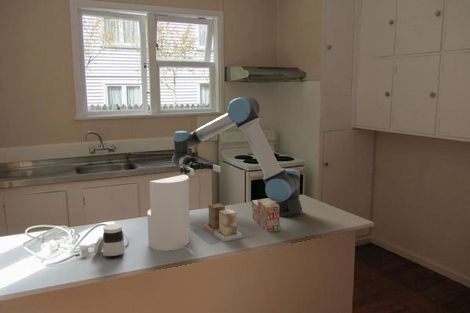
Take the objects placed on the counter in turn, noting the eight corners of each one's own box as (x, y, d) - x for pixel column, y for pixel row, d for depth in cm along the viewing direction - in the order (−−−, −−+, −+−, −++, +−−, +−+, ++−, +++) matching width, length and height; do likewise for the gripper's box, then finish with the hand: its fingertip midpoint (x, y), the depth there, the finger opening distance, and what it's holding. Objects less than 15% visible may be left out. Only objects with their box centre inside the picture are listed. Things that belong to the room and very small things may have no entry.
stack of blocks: (252, 218, 200) (251, 194, 197) (264, 216, 201) (263, 192, 199) (267, 233, 179) (266, 206, 177) (280, 230, 181) (279, 204, 179)
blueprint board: (232, 223, 192) (232, 218, 192) (255, 236, 175) (255, 231, 175) (190, 231, 182) (190, 226, 181) (210, 246, 164) (210, 241, 164)
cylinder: (198, 242, 169) (197, 177, 164) (164, 254, 157) (162, 185, 152) (173, 232, 181) (172, 171, 176) (140, 242, 169) (137, 177, 164)
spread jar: (124, 259, 152) (123, 230, 150) (93, 262, 149) (91, 233, 147) (124, 247, 164) (122, 220, 162) (94, 250, 161) (93, 222, 159)
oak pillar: (230, 232, 177) (230, 209, 176) (236, 236, 173) (236, 212, 171) (219, 235, 175) (219, 210, 173) (225, 239, 170) (225, 214, 168)
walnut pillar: (219, 225, 186) (219, 203, 185) (225, 229, 182) (224, 206, 180) (208, 227, 184) (208, 204, 182) (214, 231, 179) (213, 207, 177)
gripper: (210, 168, 212) (230, 175, 193) (166, 173, 199) (182, 181, 181) (210, 154, 210) (230, 160, 192) (165, 158, 198) (181, 165, 180)
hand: (206, 171), depth 187 cm, fingers open, 13 cm apart
